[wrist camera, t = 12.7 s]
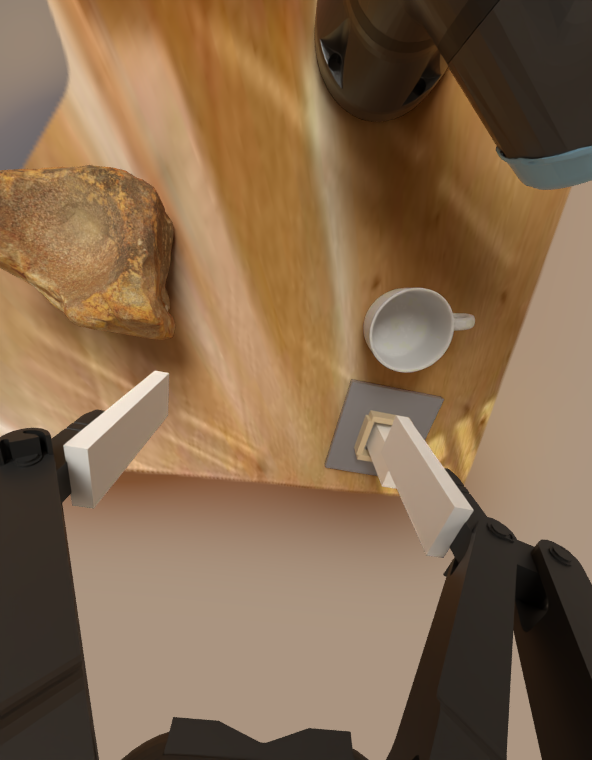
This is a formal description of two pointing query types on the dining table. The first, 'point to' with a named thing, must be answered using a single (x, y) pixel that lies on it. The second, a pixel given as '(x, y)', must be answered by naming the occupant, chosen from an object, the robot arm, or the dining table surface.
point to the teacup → (411, 328)
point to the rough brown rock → (90, 245)
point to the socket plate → (370, 407)
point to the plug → (375, 448)
